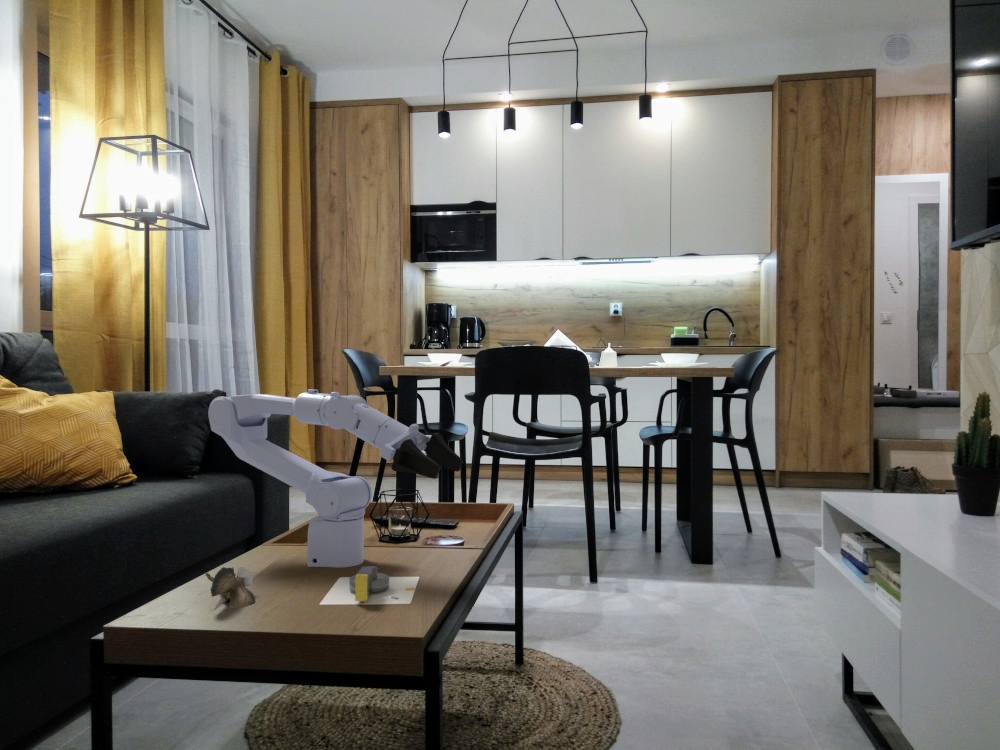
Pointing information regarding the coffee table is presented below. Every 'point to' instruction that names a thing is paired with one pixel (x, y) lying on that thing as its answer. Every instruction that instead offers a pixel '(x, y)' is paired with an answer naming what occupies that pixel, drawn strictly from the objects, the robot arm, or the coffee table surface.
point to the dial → (368, 583)
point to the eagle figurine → (232, 587)
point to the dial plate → (395, 594)
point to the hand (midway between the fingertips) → (449, 469)
